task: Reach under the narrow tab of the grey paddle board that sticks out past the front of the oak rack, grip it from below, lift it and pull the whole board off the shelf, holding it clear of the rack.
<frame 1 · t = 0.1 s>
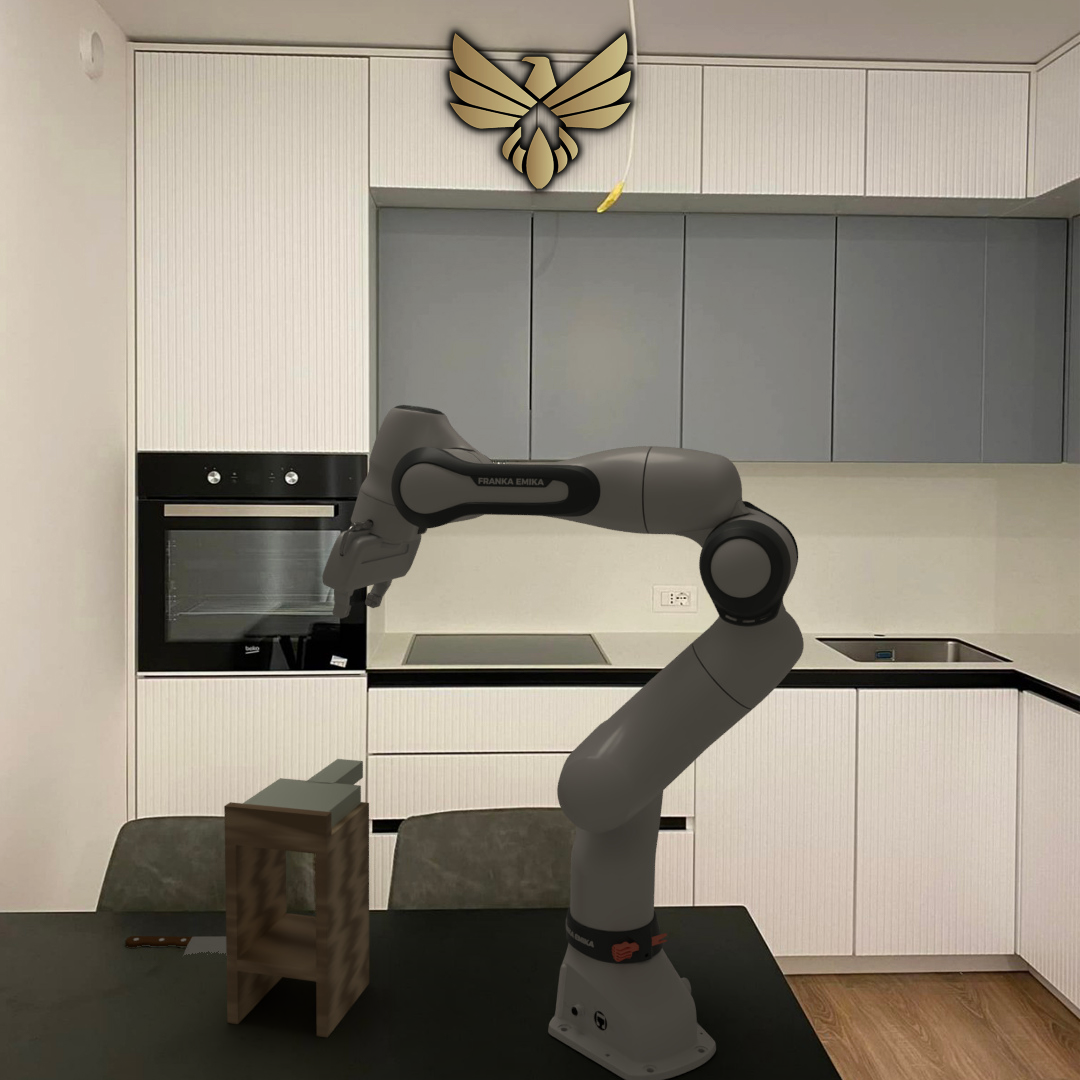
hand: (356, 611, 148), 52 cm above the table, tool tilted 20°, fingers open, 8 cm apart
rack: (300, 1002, 144), on the table
kitchen cleaver: (204, 954, 158), on the table
grey paddle board: (299, 815, 142), point 26 cm above the table, touching rack
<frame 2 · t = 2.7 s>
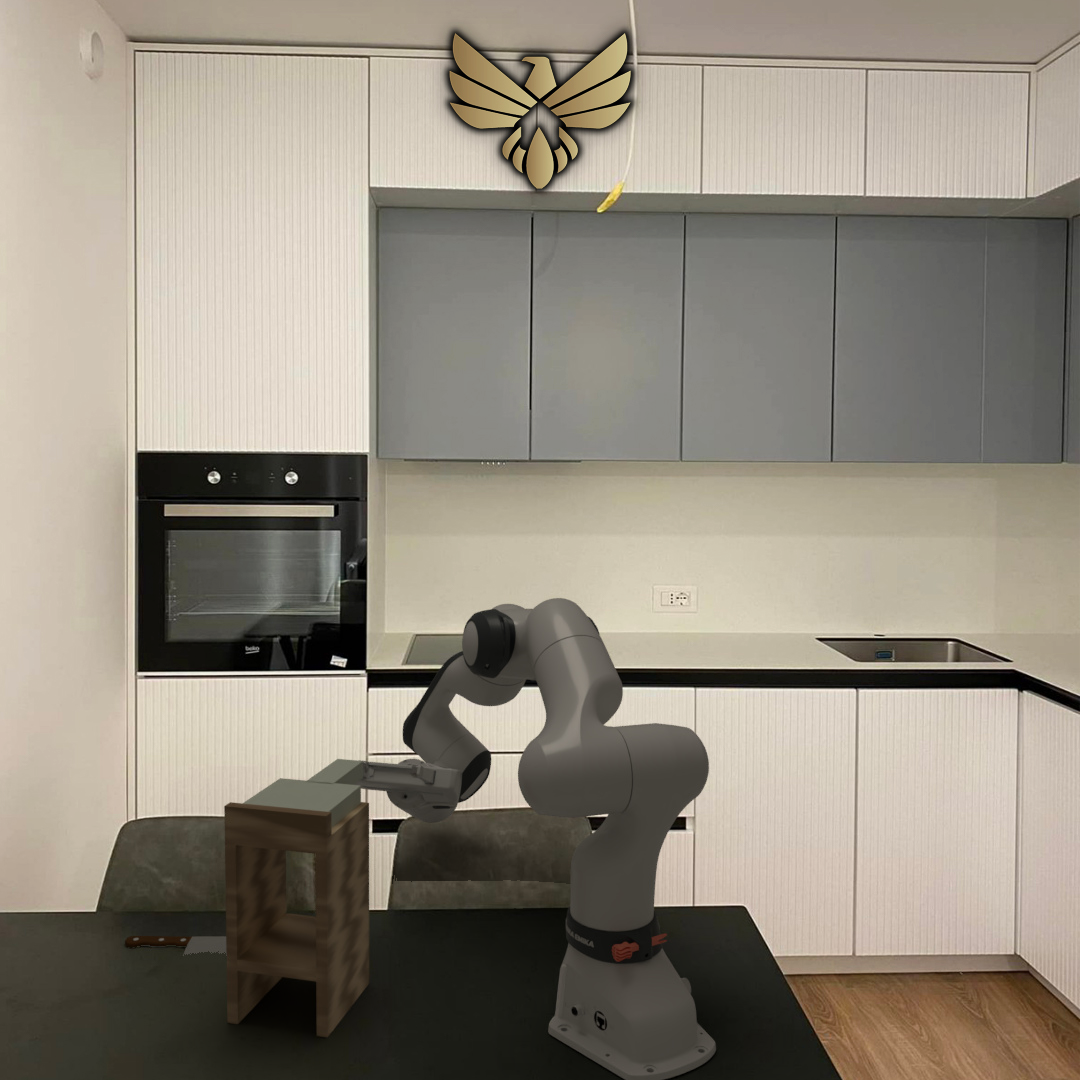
hand: (388, 767, 173), 23 cm above the table, tool pointing upward, fingers open, 8 cm apart
nothing on the table moved.
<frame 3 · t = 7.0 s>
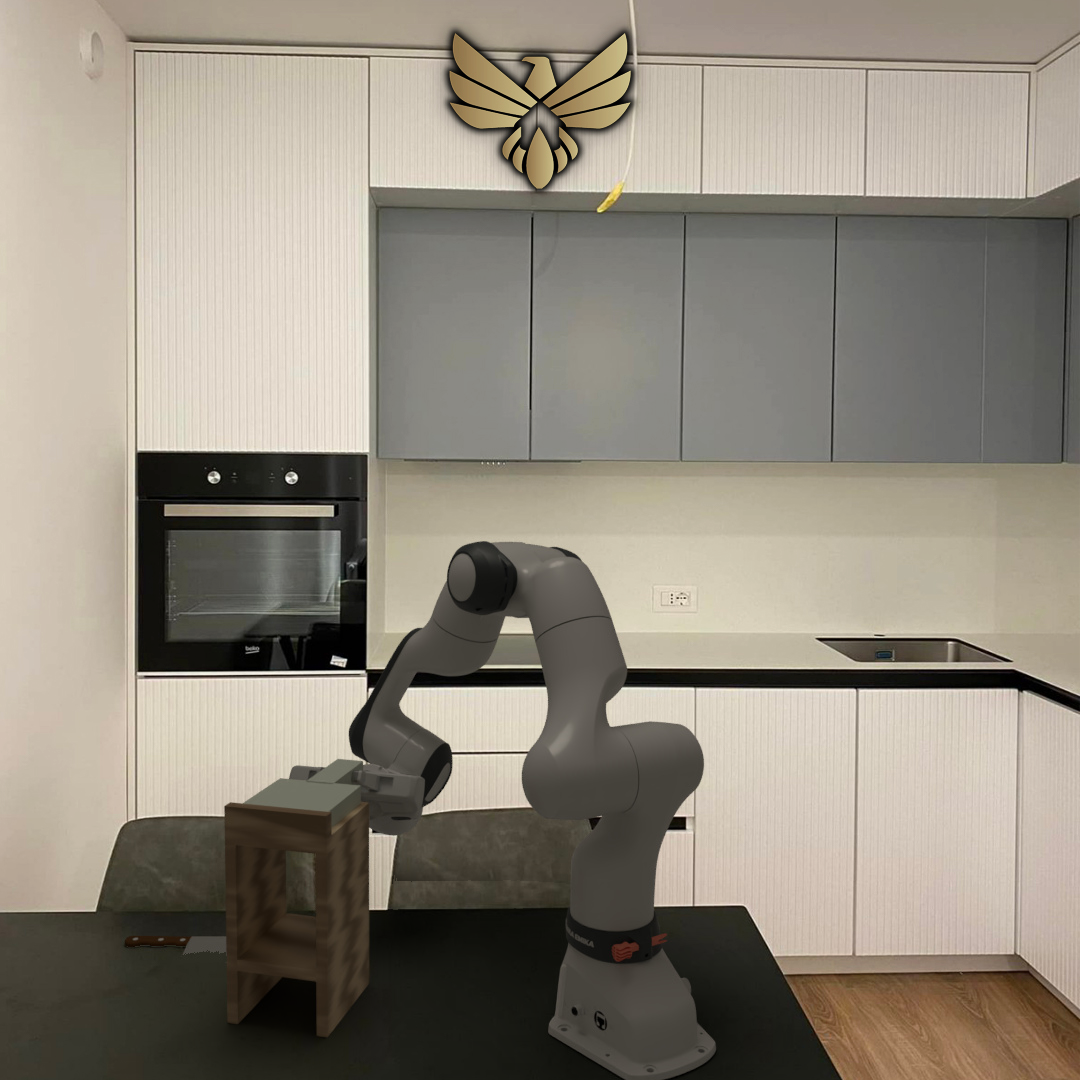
hand: (338, 774, 154), 28 cm above the table, tool pointing upward, fingers closed on grey paddle board, 4 cm apart
grey paddle board: (299, 815, 142), point 26 cm above the table, touching gripper, rack
everything else where it was.
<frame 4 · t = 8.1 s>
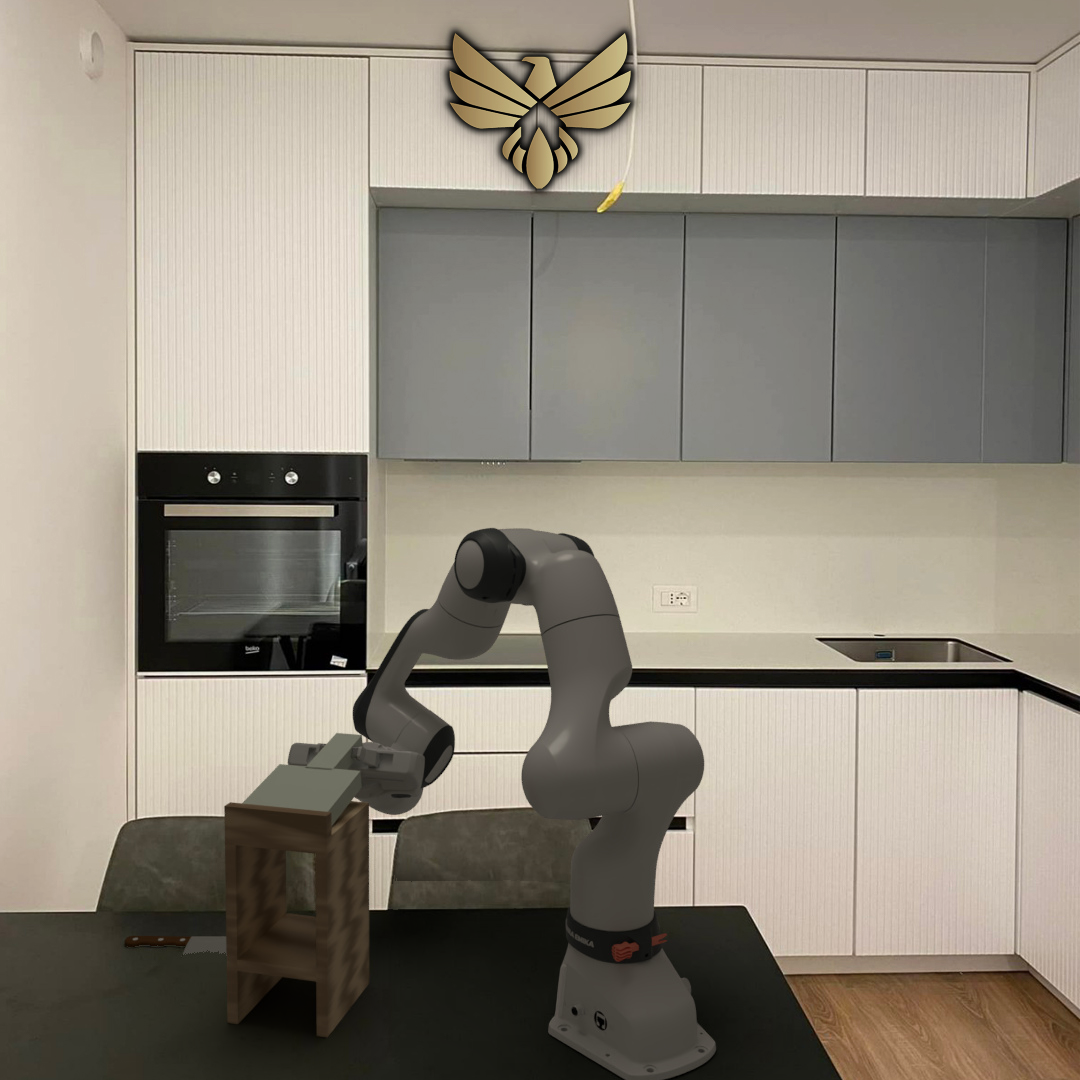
hand: (338, 750, 153), 31 cm above the table, tool pointing upward, fingers closed on grey paddle board, 4 cm apart
grey paddle board: (301, 807, 142), point 27 cm above the table, tilted 11°, touching gripper
everything else where it was.
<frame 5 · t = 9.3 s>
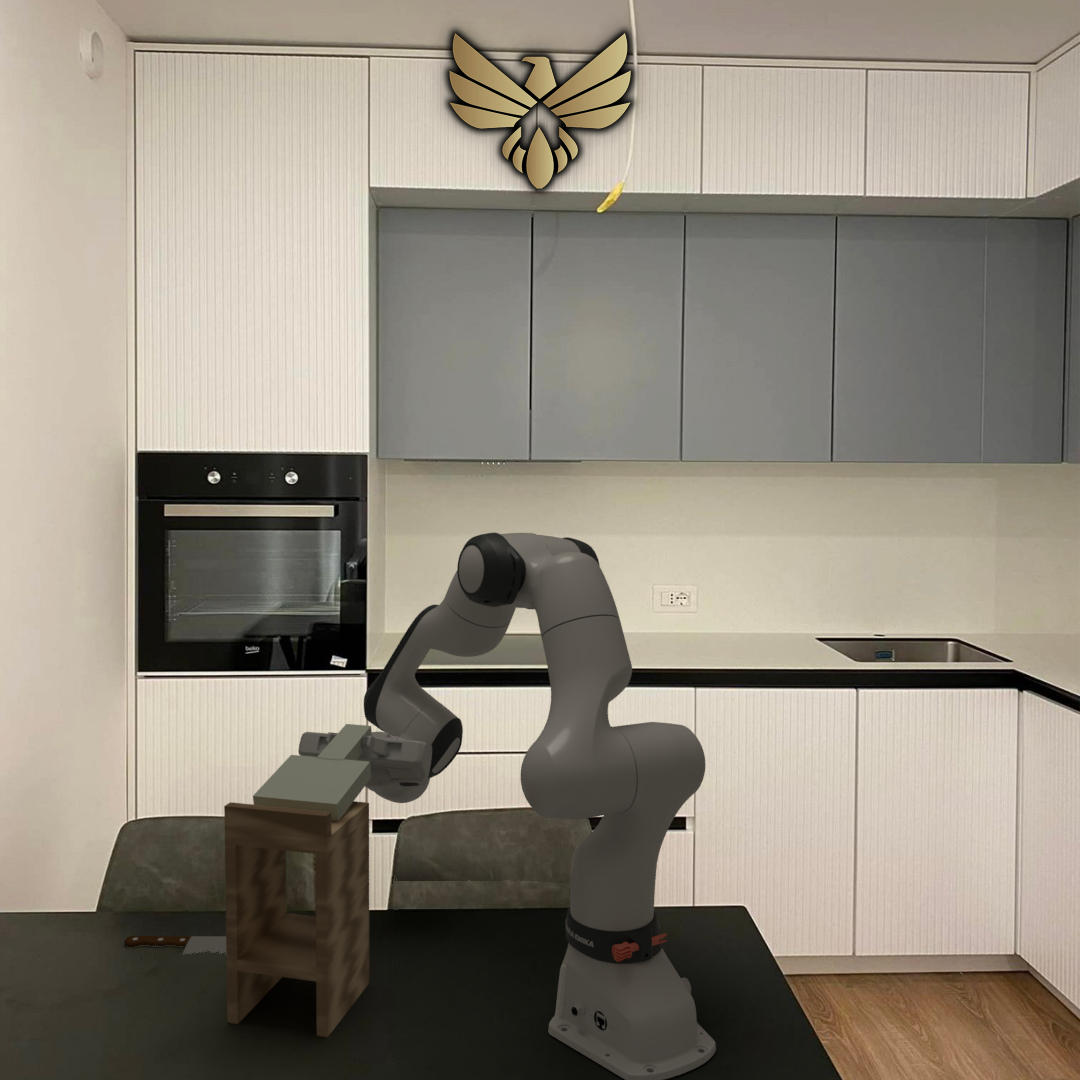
hand: (348, 739, 157), 32 cm above the table, tool pointing upward, fingers closed on grey paddle board, 4 cm apart
grey paddle board: (312, 797, 146), point 27 cm above the table, tilted 12°, touching gripper
everything else where it was.
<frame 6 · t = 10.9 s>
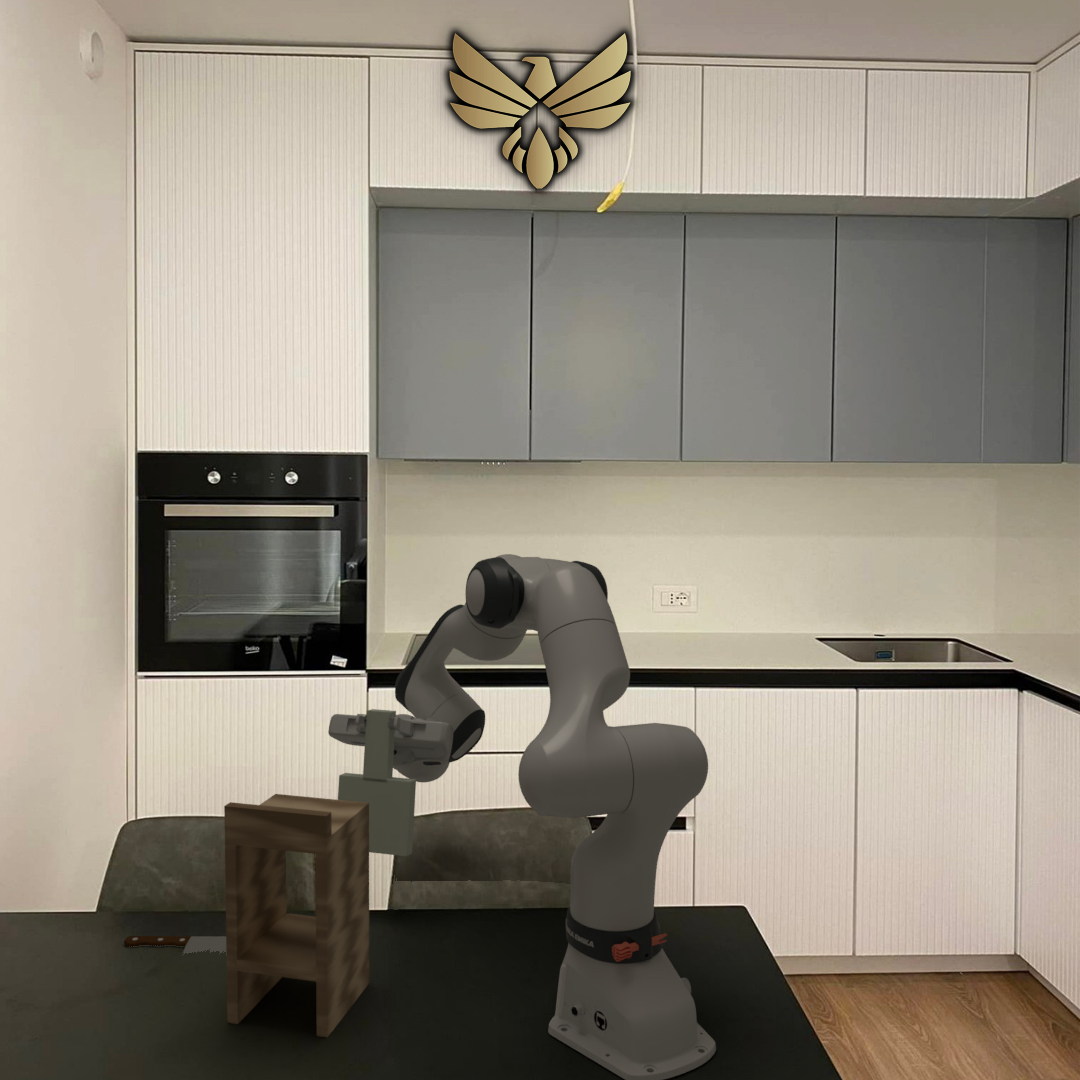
hand: (376, 720, 168), 32 cm above the table, tool pointing upward, fingers closed on grey paddle board, 4 cm apart
grey paddle board: (378, 817, 170), point 16 cm above the table, tilted 81°, touching gripper
everything else where it was.
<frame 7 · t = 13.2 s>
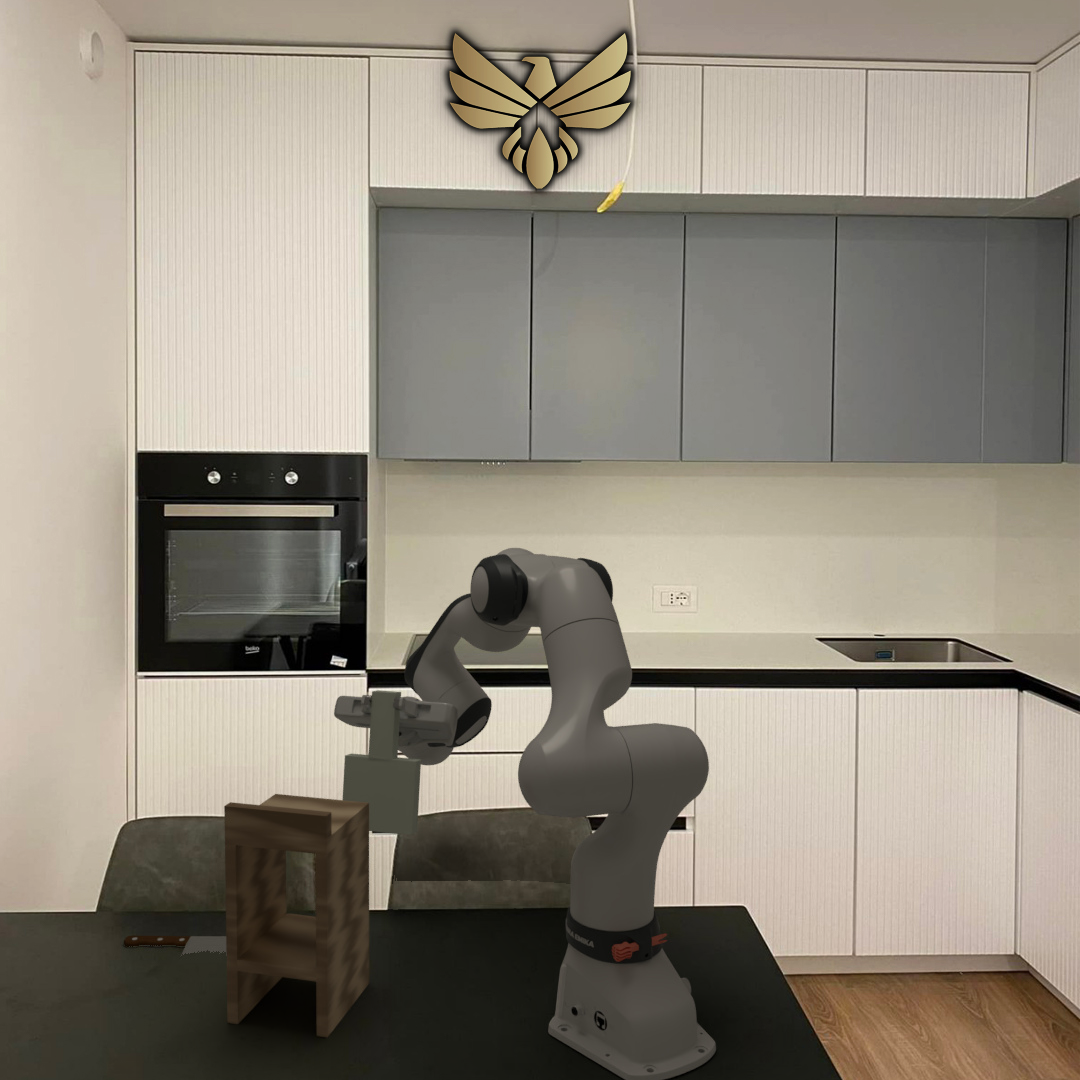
hand: (381, 700, 170), 34 cm above the table, tool pointing upward, fingers closed on grey paddle board, 4 cm apart
grey paddle board: (383, 797, 172), point 18 cm above the table, tilted 81°, touching gripper
everything else where it was.
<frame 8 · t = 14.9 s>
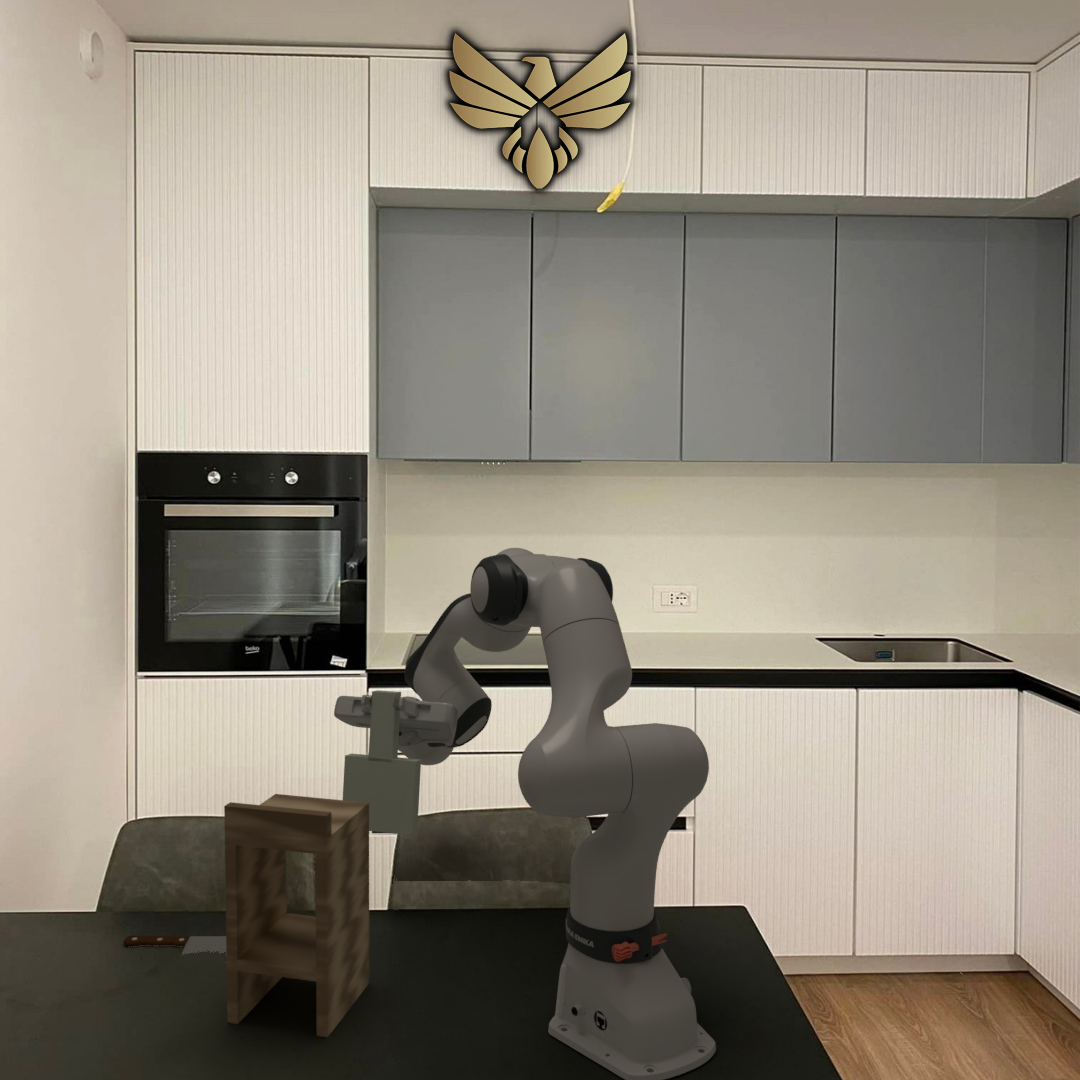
hand: (381, 700, 170), 34 cm above the table, tool pointing upward, fingers closed on grey paddle board, 4 cm apart
grey paddle board: (383, 797, 172), point 18 cm above the table, tilted 81°, touching gripper
everything else where it was.
at the end: the gripper is holding grey paddle board; grey paddle board touching gripper; grey paddle board moved 31.5 cm from its start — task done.
